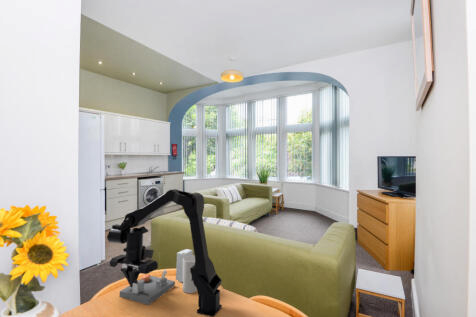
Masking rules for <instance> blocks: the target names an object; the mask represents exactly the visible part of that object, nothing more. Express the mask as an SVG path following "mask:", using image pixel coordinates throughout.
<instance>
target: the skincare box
mask: <svg viewBox="0 0 476 317" xmlns="http://www.w3.org/2000/svg"><path fill="white" fill-rule="evenodd" d="M187 256H194V249H188V248H185V249H182V250H180V251H179V252H176V267H175V270H176V272H175V281H176V280H178V281H177V282H179V281H180V282H179V283H182V282H183V258H184V257H187Z"/></svg>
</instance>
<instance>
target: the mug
mask: <svg viewBox="0 0 476 317" xmlns="http://www.w3.org/2000/svg"><path fill="white" fill-rule="evenodd" d="M193 265H195V255H193V256H187V257H184V258H183V283H182V291H183V293H186V294H194V293H196V292H197V288H196V287H195V285H194V283H193V281H191V279H192V275H191V272H190V268H191V267H192V266H193ZM193 292H194V293H193Z"/></svg>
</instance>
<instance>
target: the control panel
mask: <svg viewBox="0 0 476 317" xmlns="http://www.w3.org/2000/svg"><path fill="white" fill-rule="evenodd" d="M160 279H161V277H158V276H154V275H150V281H148V282H144V290H143V291H142V292H140V293H138V294H135V293H132V287H130V285H128V286H126V287H124V288H123V289H120V290H119V298H122V299H126V300H129V301H133V302H136V303H140V304H144V305H147V306H149V305H151V304H152V303H154V302H155V301H156V300H158V299H160V296H161V297H162V296H163V295H165V294H166V293H167V292H169V291H170V290H171V289H170V288H172V287H173V286H174V285H175V286H176V280H171V279H168V277H166V276H165V278H164V283H163V284H161V281H159V280H160ZM140 280H142V278H141V279H140ZM175 286H174V287H175ZM174 287H173V288H174ZM173 288H172V289H173ZM169 289H170V290H169ZM168 290H169V291H168ZM165 292H166V293H165ZM164 293H165V294H164Z"/></svg>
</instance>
